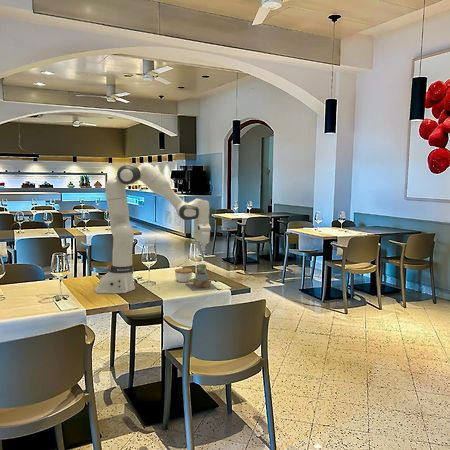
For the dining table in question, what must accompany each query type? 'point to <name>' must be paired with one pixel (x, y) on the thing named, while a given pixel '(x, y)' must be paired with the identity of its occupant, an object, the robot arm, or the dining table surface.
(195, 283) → the block
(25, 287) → the dining table surface
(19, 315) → the dining table surface
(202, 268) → the olive green cylinder
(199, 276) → the tower top
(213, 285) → the mat
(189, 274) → the lidded jar
